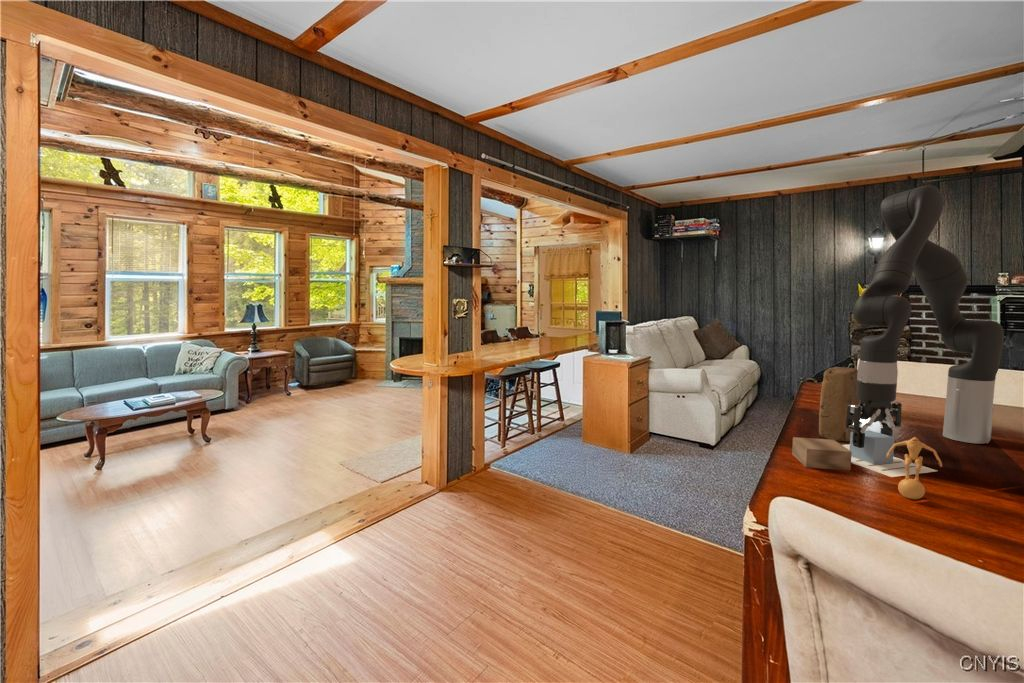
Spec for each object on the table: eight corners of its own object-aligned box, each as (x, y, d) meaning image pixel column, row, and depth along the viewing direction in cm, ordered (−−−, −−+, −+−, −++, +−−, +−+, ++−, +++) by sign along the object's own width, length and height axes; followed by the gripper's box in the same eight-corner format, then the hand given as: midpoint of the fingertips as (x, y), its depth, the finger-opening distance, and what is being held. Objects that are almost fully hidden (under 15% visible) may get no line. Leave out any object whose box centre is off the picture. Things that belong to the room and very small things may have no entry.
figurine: (883, 496, 91) (887, 437, 90) (883, 486, 95) (888, 430, 94) (939, 508, 85) (945, 446, 84) (937, 497, 90) (943, 438, 89)
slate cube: (867, 453, 114) (869, 430, 114) (892, 461, 109) (894, 437, 108) (848, 455, 113) (850, 432, 112) (873, 463, 107) (875, 439, 107)
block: (846, 444, 122) (851, 371, 120) (814, 437, 128) (819, 368, 126) (860, 437, 129) (866, 367, 127) (830, 431, 135) (834, 364, 133)
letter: (852, 444, 122) (853, 443, 122) (938, 472, 103) (938, 470, 103) (810, 449, 119) (811, 447, 119) (891, 478, 100) (891, 476, 100)
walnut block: (832, 459, 112) (833, 439, 112) (850, 473, 103) (851, 451, 103) (791, 456, 114) (792, 437, 114) (805, 469, 106) (807, 448, 105)
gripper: (883, 375, 114) (878, 438, 116) (838, 378, 111) (834, 443, 112) (916, 380, 107) (910, 447, 109) (869, 384, 104) (864, 453, 105)
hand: (871, 445), depth 110 cm, fingers open, 8 cm apart
